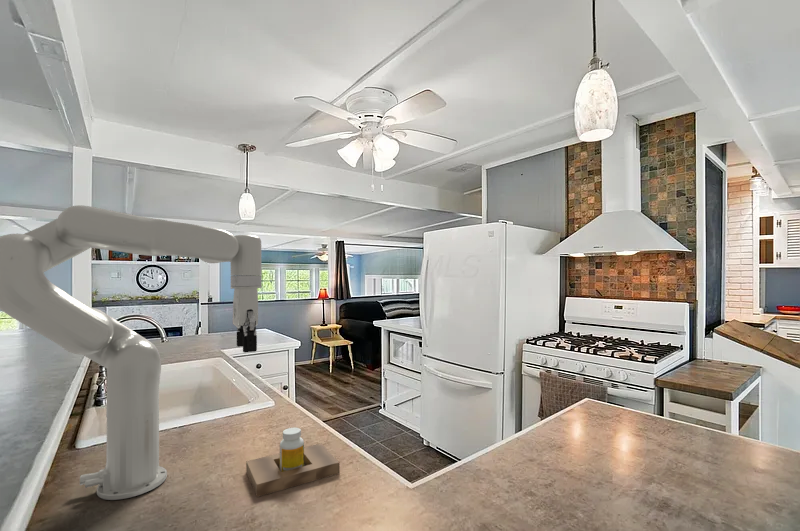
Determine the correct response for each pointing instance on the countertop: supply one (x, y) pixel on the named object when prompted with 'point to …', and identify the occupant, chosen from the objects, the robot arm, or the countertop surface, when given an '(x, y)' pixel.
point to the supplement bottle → (291, 450)
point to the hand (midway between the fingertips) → (246, 348)
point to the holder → (272, 479)
